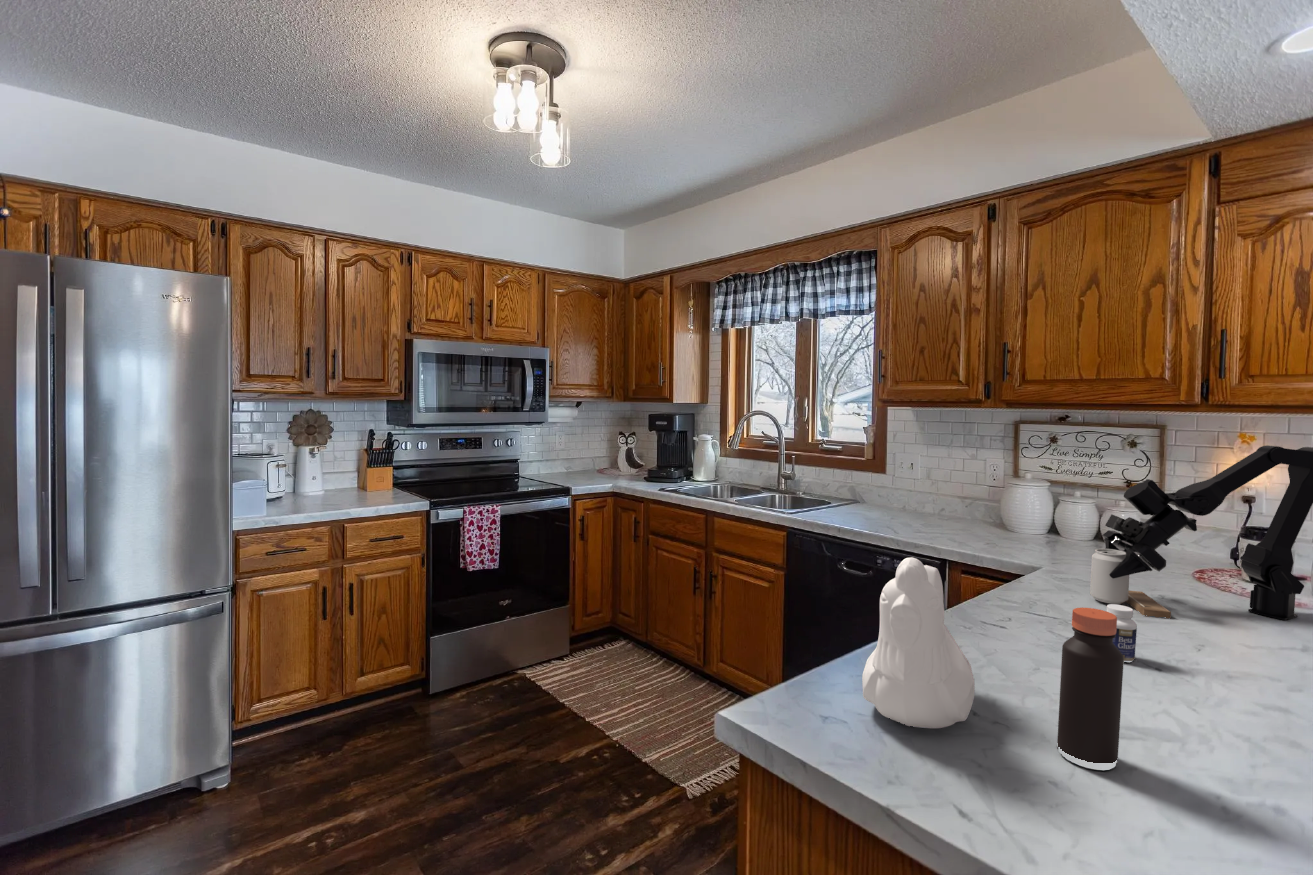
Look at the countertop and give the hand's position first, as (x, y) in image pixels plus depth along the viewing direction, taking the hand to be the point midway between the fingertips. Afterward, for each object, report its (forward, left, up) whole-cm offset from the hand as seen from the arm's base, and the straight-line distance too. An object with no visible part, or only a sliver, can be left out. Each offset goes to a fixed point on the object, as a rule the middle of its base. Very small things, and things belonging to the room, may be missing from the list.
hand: (1103, 572), depth 153 cm
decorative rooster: (-22, +82, -7) cm, 85 cm away
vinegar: (-41, +72, -7) cm, 84 cm away
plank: (-6, -6, -7) cm, 11 cm away
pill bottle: (-22, +32, -7) cm, 40 cm away
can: (-1, -1, -7) cm, 7 cm away
